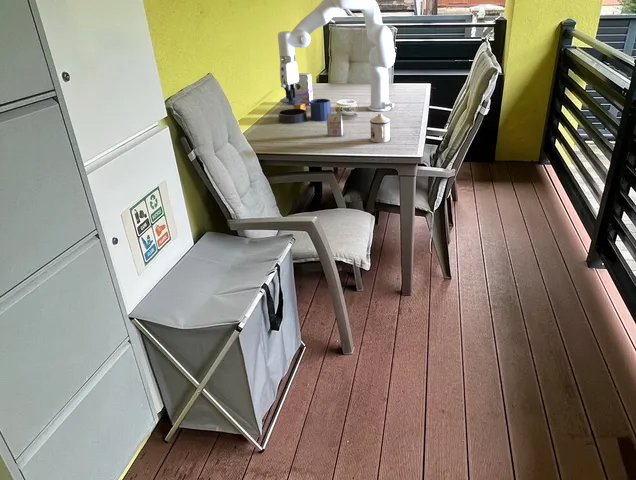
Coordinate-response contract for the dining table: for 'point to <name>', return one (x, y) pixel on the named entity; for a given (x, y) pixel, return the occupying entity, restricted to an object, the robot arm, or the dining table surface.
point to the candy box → (304, 88)
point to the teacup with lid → (380, 129)
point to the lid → (291, 101)
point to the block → (300, 106)
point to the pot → (320, 109)
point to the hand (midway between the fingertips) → (290, 97)
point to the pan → (292, 116)
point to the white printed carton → (334, 125)
